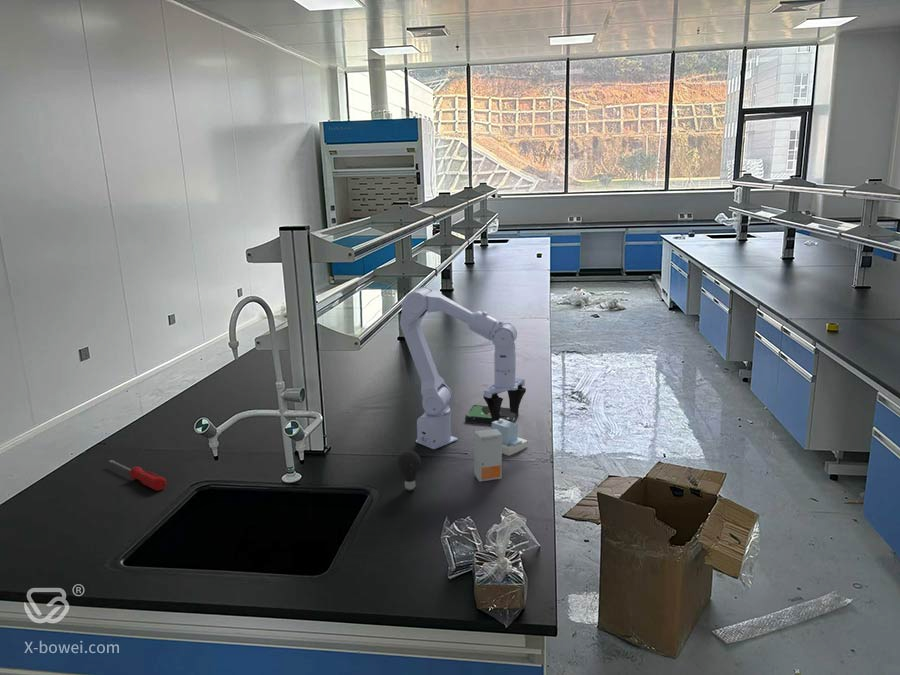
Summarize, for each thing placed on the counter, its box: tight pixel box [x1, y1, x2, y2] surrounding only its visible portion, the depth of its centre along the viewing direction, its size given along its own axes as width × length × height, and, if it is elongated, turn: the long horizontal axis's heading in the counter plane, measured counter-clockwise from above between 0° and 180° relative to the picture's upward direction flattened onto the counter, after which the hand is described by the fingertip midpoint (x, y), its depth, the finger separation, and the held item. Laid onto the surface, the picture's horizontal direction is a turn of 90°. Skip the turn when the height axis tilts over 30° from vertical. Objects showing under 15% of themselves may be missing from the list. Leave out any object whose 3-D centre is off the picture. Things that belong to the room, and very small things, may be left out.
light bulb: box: [397, 449, 422, 491], centre depth 153 cm, size 6×6×10 cm
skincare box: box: [473, 428, 503, 483], centre depth 158 cm, size 6×4×12 cm
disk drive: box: [464, 404, 520, 426], centre depth 198 cm, size 10×3×15 cm
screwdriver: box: [109, 459, 167, 492], centre depth 163 cm, size 4×25×4 cm, turn 54°
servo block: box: [491, 419, 522, 446], centre depth 177 cm, size 4×10×8 cm, turn 44°
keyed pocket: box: [502, 436, 528, 457], centre depth 177 cm, size 8×10×2 cm
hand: (504, 416), depth 175 cm, fingers open, 7 cm apart
